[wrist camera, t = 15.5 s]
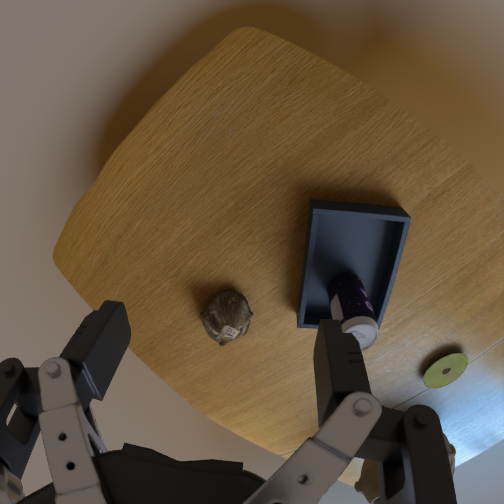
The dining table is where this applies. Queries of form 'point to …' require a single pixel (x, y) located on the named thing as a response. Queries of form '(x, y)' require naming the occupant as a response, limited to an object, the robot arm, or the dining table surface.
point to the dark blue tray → (350, 254)
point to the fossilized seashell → (227, 317)
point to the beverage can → (353, 308)
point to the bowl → (370, 476)
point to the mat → (445, 370)
